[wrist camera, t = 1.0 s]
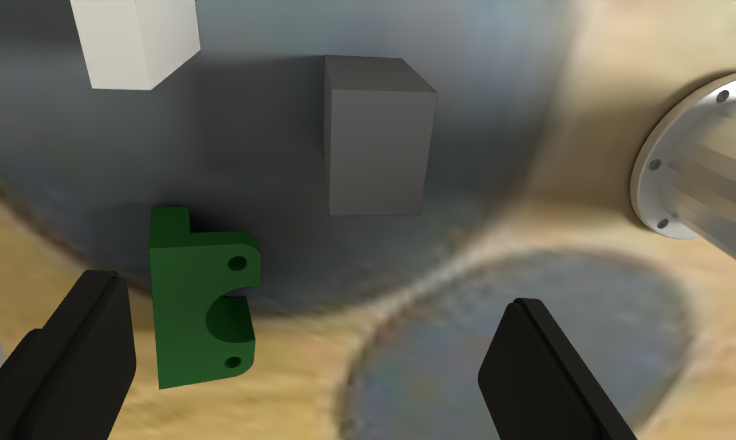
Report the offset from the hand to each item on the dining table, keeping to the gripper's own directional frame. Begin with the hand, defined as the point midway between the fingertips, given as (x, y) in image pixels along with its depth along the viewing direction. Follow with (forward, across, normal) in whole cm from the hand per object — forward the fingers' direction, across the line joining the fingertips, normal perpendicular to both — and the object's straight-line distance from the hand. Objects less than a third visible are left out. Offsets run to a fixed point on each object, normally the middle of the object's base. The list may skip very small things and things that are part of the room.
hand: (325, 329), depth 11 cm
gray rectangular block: (+18, -3, -1) cm, 18 cm away
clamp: (+18, +6, +12) cm, 23 cm away
